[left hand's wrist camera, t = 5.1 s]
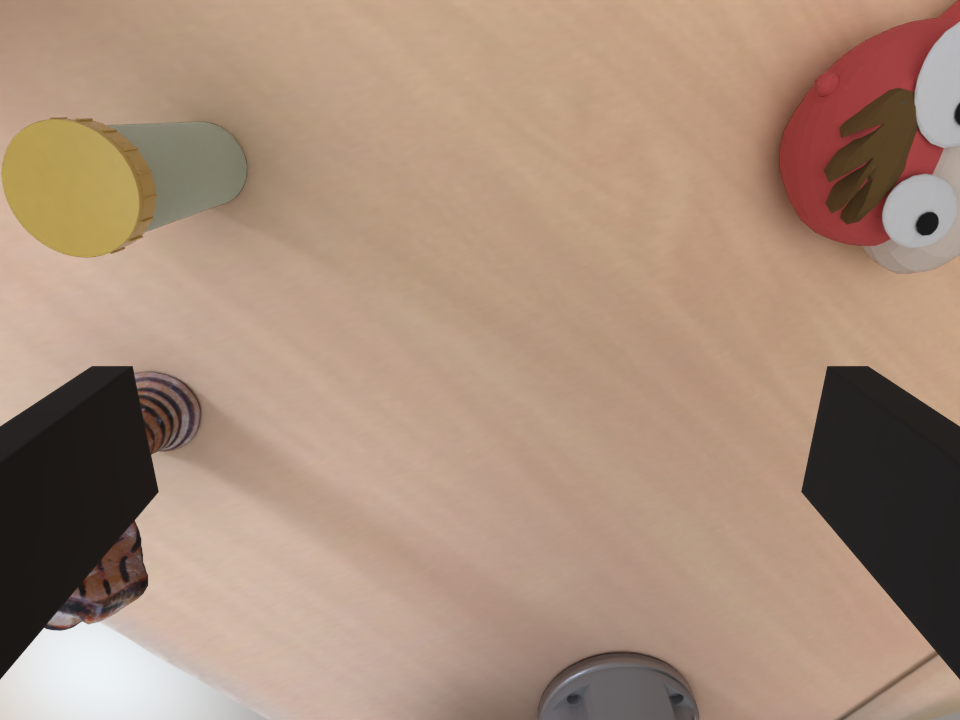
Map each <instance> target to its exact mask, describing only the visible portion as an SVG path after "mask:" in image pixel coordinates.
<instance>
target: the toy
mask: <svg viewBox="0 0 960 720" xmlns="http://www.w3.org/2000/svg"><path fill="white" fill-rule="evenodd" d="M780 170H781V176H782V180H783V183H784V186H785V189H786V192H787V194H788V197H789V200H790V202H791V204H792V206H793V207H794V209H795V211H796V212H797V214H798V216H799V217H800V219H801V220H802V221H803V222H804V223H805V224H806V225H808V226H809V227H810V228H811V229H812V230H813V231H814V232H816V233H818V234H820V235H822V236H824V237H826V238H829V239H832V240H834V241H838V242H842V243H845V244H851V245H860V246H862V247H863V249H864V251H865V252H866V254H867V255H868V256H869V257H870V258H871V259H872V260H874V261H875V262H876V263H878V264H879V265H881V266H883V267H884V268H886V269H887V270H889V271H892V272H894V273H902V274H908V273H916V272H925V271H929V270H933V269H936V268H938V267H940V266H942V265H944V264H946V263H947V262H949V261H951V260H952V259H954V258H955V257H957V256H959V255H960V0H958V1H957V2H956V3H955V4H953V5H952V6H951V7H950V8H949V9H948V10H947V11H945V12H944V13H943V14H942V15H941V16H940V17H939V18H934V19H926V20H920V21H914V22H909V23H906V24H903V25H900V26H897V27H894V28H892V29H889V30H887V31H885V32H882V33H880V34H878V35H876V36H874V37H872V38H870V39H868V40H866V41H864V42H863V43H861V44H860V45H858V46H857V47H855V48H854V49H852V50H851V51H849V52H848V53H846V54H845V55H844V56H843V57H841V58H840V59H839V60H838V61H837V62H836V63H835V64H834V65H833V66H832V67H831V68H829V69H828V70H827V71H826V72H825V73H824V74H822V75H821V76H820V77H818V78H817V80H816V82H815V85H814V86H813V87H812V88H811V90H810V91H809V92H808V93H807V95H806V96H805V98H804V99H803V101H802V102H801V104H800V105H799V107H798V108H797V109H796V111H795V112H794V114H793V116H792V118H791V120H790V122H789V123H788V125H787V127H786V129H785V130H784V134H783V138H782V142H781V146H780Z"/></svg>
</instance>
